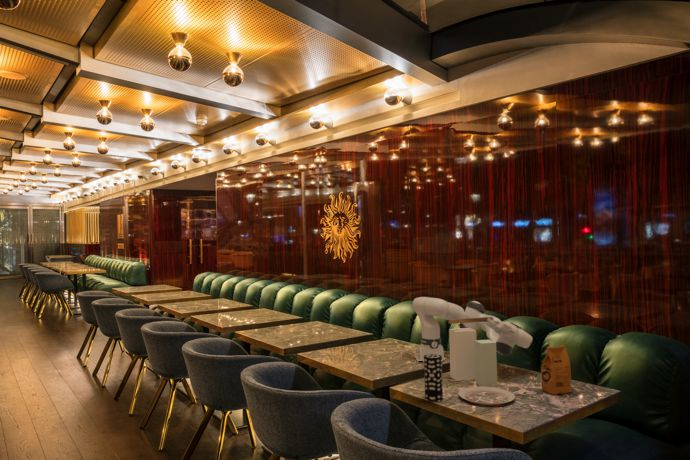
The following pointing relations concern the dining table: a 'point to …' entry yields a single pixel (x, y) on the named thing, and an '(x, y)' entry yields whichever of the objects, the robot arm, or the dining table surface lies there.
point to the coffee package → (556, 371)
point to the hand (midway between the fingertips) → (485, 318)
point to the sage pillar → (485, 363)
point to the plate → (469, 390)
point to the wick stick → (468, 320)
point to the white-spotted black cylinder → (433, 377)
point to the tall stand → (462, 353)
